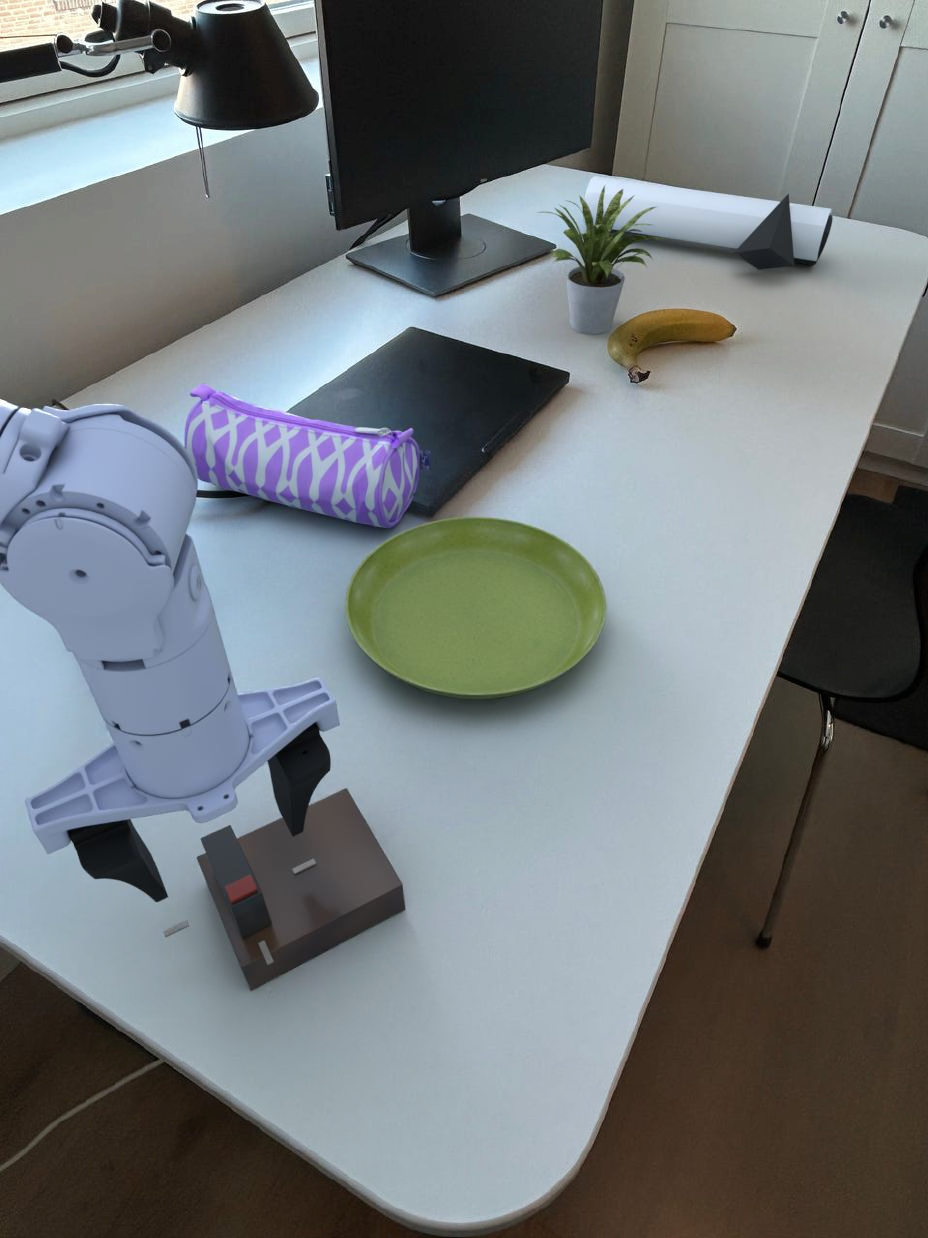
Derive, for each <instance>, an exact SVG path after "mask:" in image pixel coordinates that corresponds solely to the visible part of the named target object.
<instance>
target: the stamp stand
mask: <svg viewBox="0 0 928 1238" xmlns="http://www.w3.org/2000/svg"><path fill="white" fill-rule="evenodd" d="M236 838H237V840H238V842H239V844H240V846H241V848H242V851H243V853H244V855H245V857H246V859H247V861H248V863H249V866H250V868H251V870H252V872H253V874H254V876H255V878H256V881H257V883H258V885H259V887H260V889H261V891H262V894H263V897H264V900H265V903H266V906H267V909H268V912H269V915H270V918H271V921H272V924H271V925H269V926H267V927H265V928H264V929H262V930H260V931H258V932H256V933H254V934H252V935H250V936H248V937H246V938H244V939H242V937H241V935H240V933H239V930H238V928H237V926H236V923H235V921H234V919H233V916H232V914H231V912H230V910H229V907H228V905H227V903H226V900H225V898H224V896H223V893H222V891H221V889H220V886H219V884H218V882H217V879H216V877H215V875H214V872H213V870H212V867H211V865H210V862H209V860H208V857H207V855H206V852H204V853H201V854H199V855H197V856H196V860H197V862H198V865H199V867H200V870H201V872H202V875H203V878H204V880H205V882H206V885H207V887H208V890H209V892H210V895H211V898H212V900H213V902H214V905H215V907H216V910H217V913H218V914H219V917H220V920H221V922H222V925H223V927H224V929H225V932H226V934H227V937H228V939H229V942H230V945H231V947H232V949H233V952H234V954H235V957H236V959H237V962H238V964H239V966H240V969H241V971H242V974H243V977H244V979H245V981H246V984H247V986H248V989H249V990H250V992H252V991H253V990H256V989H258V988H259V987H261V986H263V985H265V984H267V983H269V982H271V981H272V980H274V979H276V978H278V977H280V976H282V975H284V974H286V973H288V972H289V971H291V970H294V969H295V968H297V967H299V966H301V965H303V964H305V963H307V962H308V961H311V960H313V959H314V958H316V957H318V956H320V955H322V954H324V953H325V952H327V951H329V950H331V949H333V948H335V947H338V946H339V945H341V944H343V943H344V942H346V941H348V940H350V939H352V938H354V937H357V936H358V935H360V934H362V933H364V932H365V931H368V930H369V929H371V928H373V927H375V926H377V925H379V924H380V923H383V922H385V921H386V920H388V919H390V918H392V917H394V916H396V915H398V914H400V913H401V912H403V911H405V910H406V903H405V901H406V900H405V894H404V885H403V882H402V880H401V879H400V877H399V875H398V874H397V872H396V870H395V869H394V867H393V865H392V863H391V862H390V859H389V858H388V857H387V855H386V853H385V851H384V850H383V847H382V846H381V844H380V843H379V841H378V839H377V837H376V836H375V834H374V832H373V831H372V829H371V827H370V825H369V824H368V822H367V820H366V819H365V817H364V815H363V813H362V812H361V809H360V808H359V807H358V804H357V803H356V801H355V800H354V798H353V796H352V794H351V793H350V791H349V789H348V788H347V787H345V788H343V789H341V790H338V791H336V792H335V793H333V794H330V795H328V796H326V797H324V798H321V799H319V800H317V801H315V802H312V803H311V804H310V803H309V806H308V809H307V813H306V817H305V823H304V830H303V832H302V833H300V834H298V835H296V836H294V837H293V836H292V834H291V832H290V830H289V829H288V827H287V825H286V823H285V821H284V819H283V817H282V816H281V817H279V818H278V819H275V820H274V821H271V822H269V823H267V824H265V825H262V826H260V827H258V828H255V829H254V830H252V831H250V832H247V833H245V834H243V835H241V836H239V837H236ZM189 927H190V923H189V920H188V919H186V920H184V921H182V922H180V923H177V924H176V925H174V926H171V927H170V928H167V929H165V930H163V931H162V933H163V936H164V937H165V939H166V938H168V937H170V936H172V935H174V934H177V933H178V932H180V931H182V930H184V929H187V928H189Z"/></svg>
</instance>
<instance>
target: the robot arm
mask: <svg viewBox="0 0 928 1238" xmlns="http://www.w3.org/2000/svg"><path fill="white" fill-rule="evenodd" d="M198 480H199V479H198V478H197V472H196V468H195V465H194V463H193V461H192V458H191V457H190V455H189V453H188V452H187V450H186V449H185V445H183V443H182V442H181V441H180V440H179V439H178V438H177V437H176V436H175V435H174V434H173V433H171V432H170V431H169V430H168V429H166V428H165V427H163V426H162V425H161V424H159V423H157V422H155V421H153V420H152V419H149V418H147V417H145V416H142V415H140V414H139V413H137V412H136V411H135V410H134V409H132V408H130V407H128V406H126V405H120V404H113V403H97V404H96V403H95V404H89V405H88V404H87V405H83V406H80V407H77V408H73V409H68V410H64V409H63V410H62V409H57V408H53V407H51V406H49V405H48V406H47V405H44V406H43V408H42V409H41V408H37V407H34V408H32V409H29V408H26V407H22V406H21V405H18V404H15V403H12V402H9V401H7V400H3V399H1V398H0V585H1V586H2V587H3V589H4V590H5V591H6V593H8V594H9V595H10V596H11V597H12V599H14V600H15V601H16V602H17V603H18V604H20V605H21V606H23V607H24V608H25V609H26V610H29V611H30V612H31V613H33V614H35V615H36V616H38V617H40V618H41V619H43V620H44V621H46V622H47V623H49V624H50V625H51V627H53V628H54V629H55V630H56V632H57V633H58V635H59V637H60V639H61V641H62V643H63V645H64V647H65V650H66V651H67V652H72V654H73V656H74V659H75V660H76V663H77V665H78V667H79V669H80V671H81V673H82V676H83V678H84V680H85V682H86V684H87V687H88V689H89V691H90V694H91V696H92V698H93V700H94V703H95V704H96V707H97V708H98V711H99V714H100V716H101V718H102V720H103V722H104V724H105V727H106V729H107V731H108V733H109V735H110V738H111V740H112V743H111V744H110V745H108V746H107V747H105V748H104V749H102V750H101V751H100V752H99V753H97V754H96V755H95V756H93V757H92V758H90V759H89V760H87V761H86V762H85V763H84V764H82V765H81V766H79V767H78V768H77V769H76V770H73V772H71V773H70V774H68V775H67V776H65V777H64V778H63V779H61V780H60V781H57V782H56V783H55V784H53V785H52V786H50V787H48V788H46V789H44V790H42V791H41V792H38V793H35V794H34V795H32V796H30V797H27V798H25V799H24V803H25V807H26V810H27V815H28V817H29V821H30V825H31V829H32V832H33V833H34V835H35V837H36V838H37V840H38V841H39V843H40V844H41V846H42V848H43V849H44V851H45V852H46V854H48V855H50V854H52V853H55V852H57V851H59V850H61V849H64V848H66V847H68V846H69V845H70V844H71V843H72V844H73V848H74V850H75V851H76V854H77V857H78V860H79V864H80V867H82V869H83V870H84V871H85V872H86V874H88V876H90V877H91V878H93V879H94V880H103V879H104V880H115V881H119V882H123V883H125V884H128V885H130V886H132V887H134V888H136V889H138V890H139V891H141V892H143V893H144V894H145V895H147V896H148V897H149V898H150V899H152V900H153V902H155V903H159V902H161V901H163V900H166V899H168V898H169V895H168V892H167V889H166V887H165V884H164V881H163V879H162V876H161V873H160V871H159V869H158V866H157V864H156V862H155V859H154V857H153V855H152V853H151V851H150V850H149V848H148V847H147V845H146V843H145V842H144V840H143V839H142V837H141V836H140V834H139V833H138V831H137V829H136V827H135V825H134V823H133V821H132V819H133V820H134V819H140V818H146V817H152V816H158V815H164V814H170V813H171V814H172V813H176V812H177V813H178V812H182V811H183V812H184V811H187V812H188V813H189V814H190V815H191V818H192V820H193V821H194V822H195V823H197V824H204V823H208V822H211V821H213V820H215V819H217V818H219V817H221V816H223V815H225V814H228V813H230V812H232V811H233V810H235V809H236V808H237V806H238V803H239V801H238V796H237V792H236V789H237V787H238V786H239V785H241V784H242V783H243V782H244V781H245V780H246V779H248V778H249V777H250V776H251V775H252V774H254V773H255V772H256V771H258V770H259V769H260V768H261V767H262V766H264V765H265V764H266V763H267V765H268V770H269V775H270V781H271V785H272V786H271V787H272V791H273V797H274V800H275V803H276V806H277V809H278V812H279V813H280V815H281V818H282V817H283V819H284V821H285V823H286V825H287V827H288V829H289V830H290V832H291V834H292V836H293V837H294V836H296V835H298V834H300V833H302V832H303V830H304V823H305V817H306V813H307V809H308V806H309V805H310V803H311V800H312V796H313V795H314V792H315V790H316V789H317V787H318V785H320V783H321V781H322V780H323V778H324V777H326V775H327V774H328V773H330V771H331V765H332V762H331V760H332V759H331V753H330V750H329V747H328V746H327V744H326V743H325V741H324V739H323V737H322V736H321V733H320V732H323V733H324V732H327V731H330V730H332V729H335V728H336V727H339V726H340V724H341V723H340V717H339V711H338V705H337V700H336V698H335V697H334V695H333V694H332V691H330V689H329V687H328V686H327V685H326V683H325V681H324V680H323V679H322V677H321V676H317V677H315V678H311V679H309V680H306V681H303V682H299V683H296V684H291V685H286V686H280V687H274V688H266V689H259V690H253V691H246V692H245V691H244V692H238V691H237V688H236V683H235V681H234V677H233V674H232V669H231V666H230V665H231V664H230V662H229V658H228V654H227V651H226V647H225V643H224V640H223V637H222V633H221V630H220V626H219V624H218V618H217V616H216V612H215V608H214V605H213V602H212V597H211V594H210V592H209V589H208V586H207V584H206V581H205V577H204V575H203V571H202V567H201V564H200V559H199V557H198V553H197V550H196V547H195V546H196V545H195V542H194V538H192V536H191V535H190V534H188V533H187V532H188V528H189V526H190V522H191V519H192V515H193V513H194V510H195V506H196V504H197V503H196V502H197V493H198V486H199V481H198Z"/></svg>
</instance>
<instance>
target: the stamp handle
mask: <svg viewBox="0 0 928 1238" xmlns="http://www.w3.org/2000/svg"><path fill="white" fill-rule="evenodd" d="M237 838H238V837H237V836H236V834H235V831H234V829H233V827H232V825H231V824H228V825H226V826H224V827H222V828H220V829H218V830H216V831H213V832H211V833H208V834H206V835H204V836H201V838H200V841H201V844H202V847H203V850H204V853H206V855H207V857H208V860H209V862H210V865H211V867H212V870H213V872H214V875H215V877H216V879H217V882H218V884H219V886H220V889H221V891H222V893H223V896H224V898H225V900H226V903H227V905H228V907H229V910H230V912H231V914H232V916H233V919H234V921H235V923H236V926H237V928H238V930H239V933H240V935H241V937H242V939H244V938H246V937H248V936H250V935H252V934H254V933H256V932H258V931H260V930H262V929H264V928H265V927H267V926H269V925H271V924H272V921H271V918H270V915H269V912H268V909H267V906H266V903H265V900H264V897H263V894H262V891H261V889H260V887H259V885H258V883H257V881H256V878H255V876H254V874H253V872H252V870H251V868H250V866H249V863H248V861H247V859H246V857H245V855H244V853H243V851H242V848H241V846H240V844H239V842H238V840H237Z"/></svg>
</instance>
